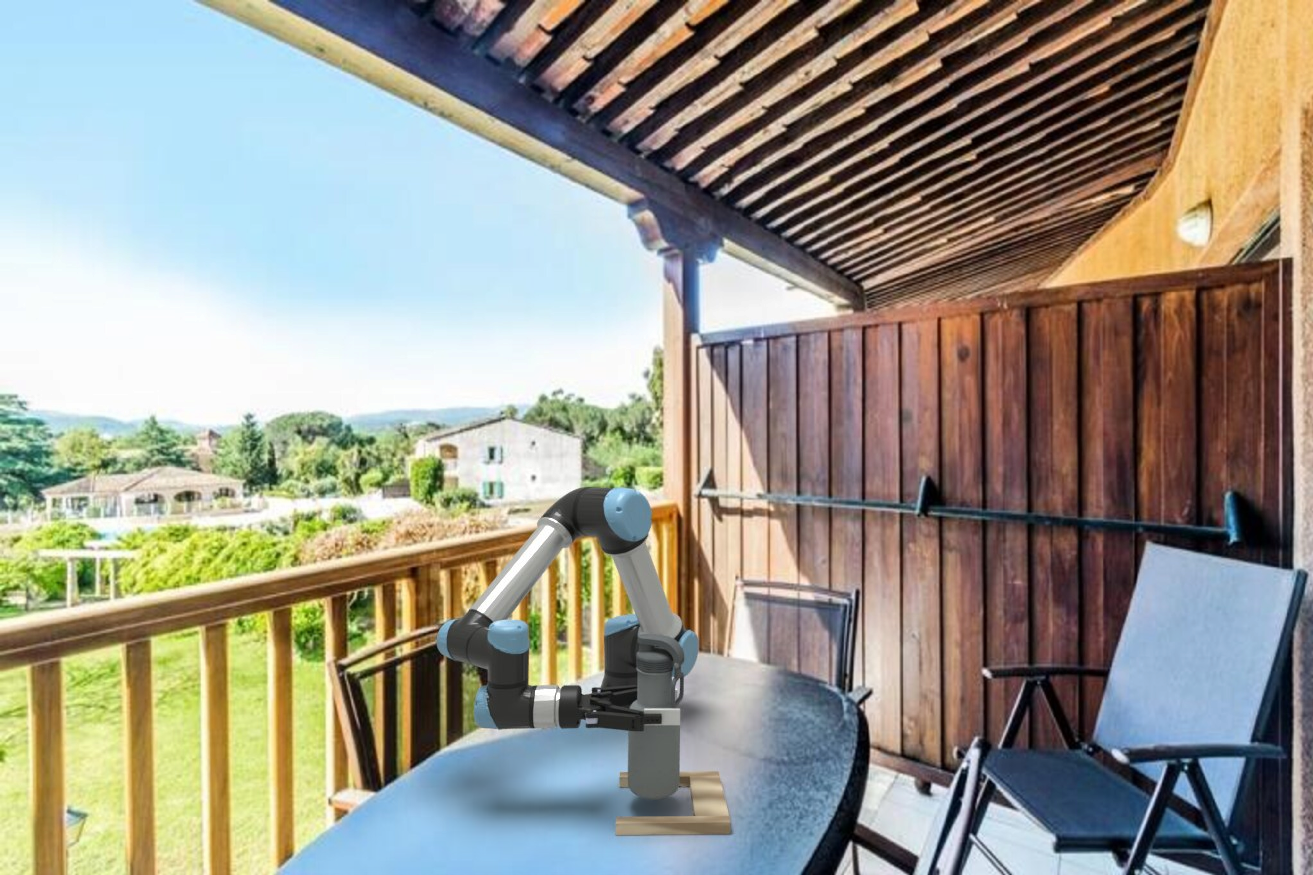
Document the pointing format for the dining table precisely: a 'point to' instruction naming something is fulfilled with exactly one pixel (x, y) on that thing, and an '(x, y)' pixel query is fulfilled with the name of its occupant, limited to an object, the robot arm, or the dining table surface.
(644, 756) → the water bottle
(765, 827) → the dining table surface
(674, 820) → the oak cut-out board
